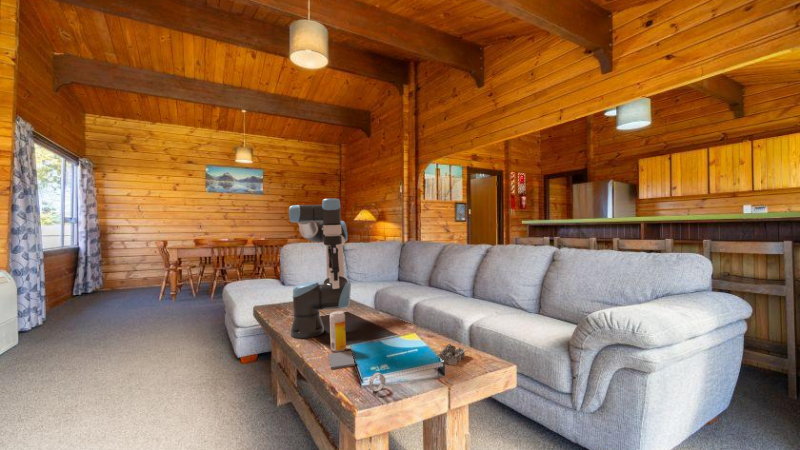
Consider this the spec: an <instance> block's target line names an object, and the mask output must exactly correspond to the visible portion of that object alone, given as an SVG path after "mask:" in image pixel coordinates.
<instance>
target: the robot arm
mask: <svg viewBox="0 0 800 450" xmlns="http://www.w3.org/2000/svg"><path fill="white" fill-rule="evenodd" d="M321 203H322V204H295V205H291V206H289V208H288V217H289V218H288V219H289V221H290V223H297V225H298V227H299V228H298V231H299V234H300V236H301V237H302V238H303V239H306V240H307V241H310V242H312V243H323V245H324V246H325V247H326V256H325V257H326V278H325V279H324V280H323V283H322V284H320V283H319V281H318V280H317V281H307V282H303V283H300V284H296V285H295V286H294V287H293V288H292V301H293V302H292V303H293V304H292V305H293V319H292V323H291V327H290V330H289V331H290V332H289V333H290V336H291V337H292V338H295V339H307V338H313V337H318V336H320V335H322V334H324V332H325V327H324V323H323V320H322V318H321V314H320V311H323V310H333V309H334V310H335V309H339V310H340V309H344V308H348V307H350V305H351V304H350V303H351V289H352V283H351V282H349V281H348V278H346V277H345V265H344V247H343V246H344V245H345V244H346V242H347V241H348V235H349V234H348V230H347V224H346V222H345V221H344V220H342V218H341V217H342V216H341V215H342V214H341V199H339V198H324V199H322V202H321Z"/></svg>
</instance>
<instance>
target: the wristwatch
mask: <svg viewBox="0 0 800 450" xmlns="http://www.w3.org/2000/svg"><path fill="white" fill-rule="evenodd" d="M377 377H378V379H379V381H380V384H379V386H378V387H376V388H374V383H373V382H374V381H375V379H376V378H377ZM386 382H387V381H386V377H385V376H384V375H383V374H382V373H380V372H375V373H374V374H373V375H372V376H371V377H370V378H369V383H368V384H369V388H370V390H372V391H373V392H380V391H381V390H382V389H383V388H384V385H385V384H386Z"/></svg>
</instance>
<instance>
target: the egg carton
mask: <svg viewBox="0 0 800 450" xmlns="http://www.w3.org/2000/svg"><path fill="white" fill-rule="evenodd" d="M465 351H466V349H464V348H460V347H459V348H458V349H457V348H456V346H455V345H453V344H451V342H450V343H448V344H447V345H446V346H445V348H443V349H442V350H441V351H440V352H439V353H438V354H437V357H438V358H439V357H440V358H441V359H442V360H444V362H445V363H446V364H448V365H449V366H451V365H452V366H453V365H457V362H461V361H462V359H464V358H465V357H466V356H465V355H466V353H465ZM453 354H454V355H453Z"/></svg>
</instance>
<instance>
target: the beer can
mask: <svg viewBox="0 0 800 450" xmlns="http://www.w3.org/2000/svg"><path fill="white" fill-rule="evenodd" d="M346 334H347V333H346V314H345V312H344V310H335V311H331V312H330V314H329V338H330V349H331V350H332V351H333V353H339V352H344V351H345V349H346V348H347V337H346V336H347V335H346Z"/></svg>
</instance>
